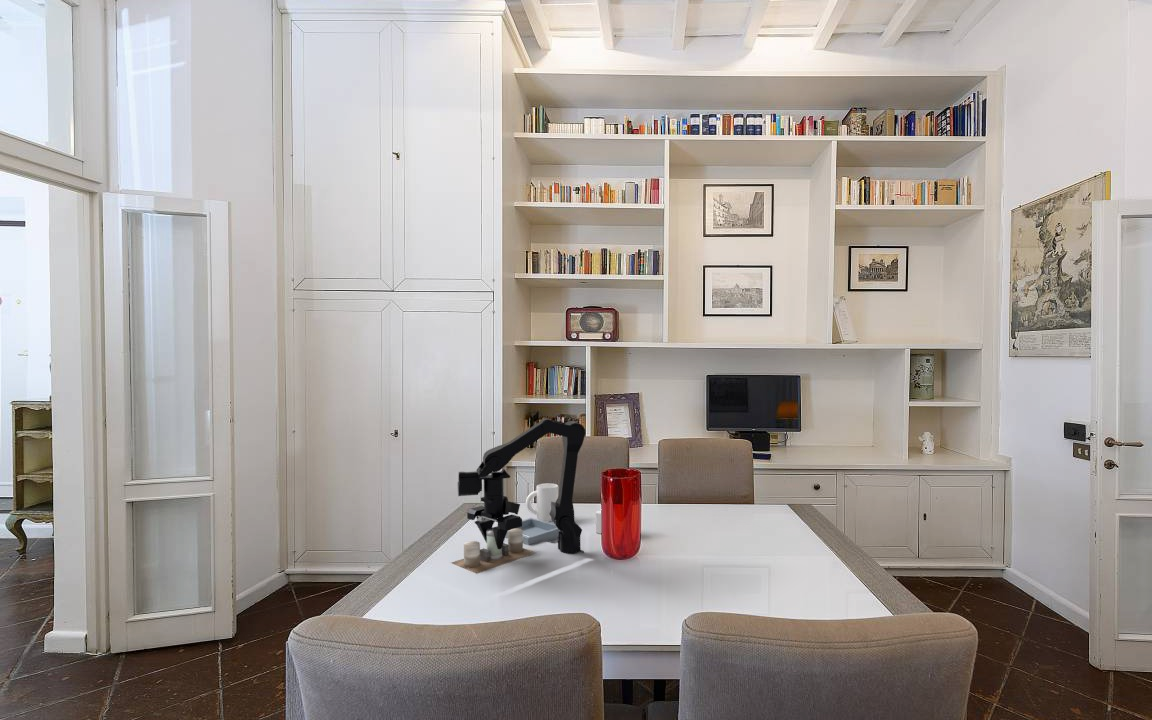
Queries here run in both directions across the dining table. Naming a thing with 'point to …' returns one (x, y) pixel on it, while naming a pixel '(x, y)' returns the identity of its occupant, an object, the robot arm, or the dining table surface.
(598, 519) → the medicine bottle
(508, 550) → the fuse rack
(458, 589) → the dining table surface
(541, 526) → the tray
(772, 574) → the dining table surface
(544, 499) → the mug
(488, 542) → the cylinder
